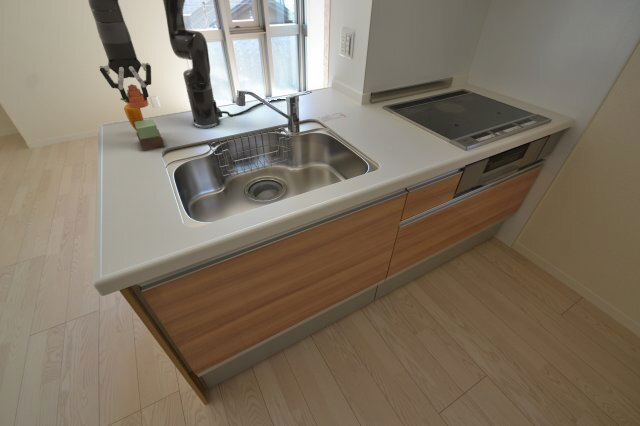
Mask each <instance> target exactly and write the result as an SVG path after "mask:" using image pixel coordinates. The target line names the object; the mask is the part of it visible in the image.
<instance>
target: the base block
mask: <svg viewBox="0 0 640 426" xmlns="http://www.w3.org/2000/svg"><path fill="white" fill-rule="evenodd" d="M157 130H158V133H159V136H158V137H153V138H147V139H141V140H140V137H139V134H138V132H137V131H135V133H136V135H137V139H138V142H139V146H140V147H141V151H142V152H146V151H151V150H156V149H162V148H165V144H164V141H163V138H162V135H161V132H160V131H159V128H157Z"/></svg>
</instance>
